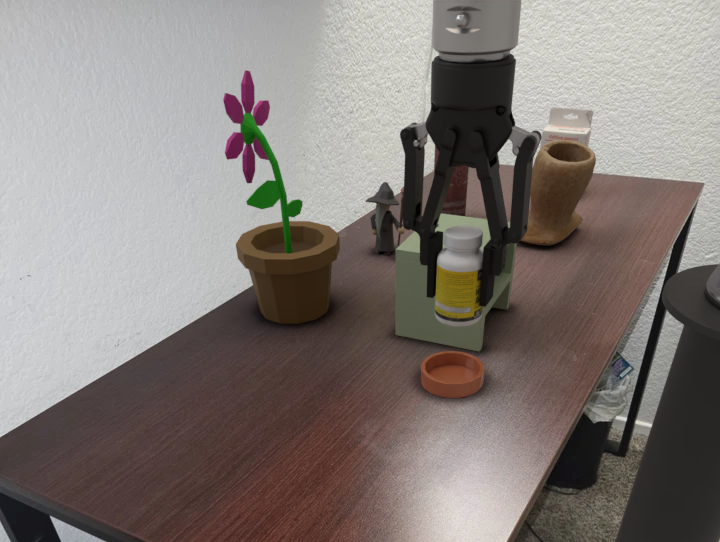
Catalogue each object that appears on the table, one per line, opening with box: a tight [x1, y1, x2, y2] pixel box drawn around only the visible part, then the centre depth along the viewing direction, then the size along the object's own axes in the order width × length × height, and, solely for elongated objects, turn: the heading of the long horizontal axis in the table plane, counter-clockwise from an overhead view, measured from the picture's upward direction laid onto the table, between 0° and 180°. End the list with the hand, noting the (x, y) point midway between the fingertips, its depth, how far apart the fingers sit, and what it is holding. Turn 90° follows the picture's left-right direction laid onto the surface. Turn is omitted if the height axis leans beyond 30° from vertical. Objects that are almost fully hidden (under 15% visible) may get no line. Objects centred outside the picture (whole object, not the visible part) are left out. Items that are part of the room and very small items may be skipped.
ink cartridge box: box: [539, 106, 594, 150], centre depth 127 cm, size 9×5×15 cm, turn 66°
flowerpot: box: [222, 70, 341, 325], centre depth 88 cm, size 14×14×30 cm
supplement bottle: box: [435, 225, 483, 326], centre depth 72 cm, size 5×5×10 cm
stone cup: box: [520, 140, 597, 246], centre depth 110 cm, size 15×12×15 cm
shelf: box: [394, 213, 518, 352], centre depth 89 cm, size 12×14×12 cm
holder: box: [420, 350, 485, 399], centre depth 80 cm, size 8×8×2 cm
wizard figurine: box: [365, 181, 406, 256], centre depth 108 cm, size 8×6×12 cm
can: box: [433, 145, 470, 217], centre depth 118 cm, size 6×6×14 cm
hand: (459, 296), depth 74 cm, fingers closed on supplement bottle, 5 cm apart
